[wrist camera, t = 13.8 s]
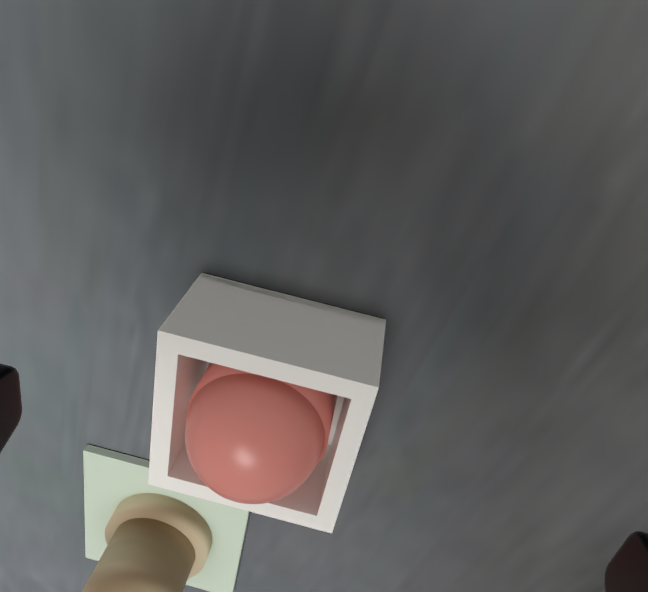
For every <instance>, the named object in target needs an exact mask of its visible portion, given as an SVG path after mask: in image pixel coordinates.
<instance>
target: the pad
mask: <svg viewBox="0 0 648 592" xmlns="http://www.w3.org/2000/svg"><path fill="white" fill-rule="evenodd" d="M83 454H84V501H85V549H86V558H90V559H93V560H97V561H99V560H100V558H101V556H102V554H103V552H104V551H105V549H106V547H107V543H106V539H105V528H106V525H107V523H108V522H109V520H110V518H111V517H112V515H113V513H114V511H115V510H116V508H117V506H118V505H119V503H120V502H121V501H123V500H124V499H125V498H127V497H129V496H132V495H135V494H141V493H155V494H161V495H166V496H169V497H172V498H175V499H177V500H180V501H182V502H184V503H185V504H187V505H189V506H190V507H192V508H193V509H194V510H196V511H197V512H198V513H199V514H200V515H201V516H202V517H203V518H204V519H205V521H206V522H207V524H208V525H209V527H210V530H211V533H212V546H211V549H210V551H209V554H208V557H207V559H206V562H205V565H204V567H203V569H202V570H201V571H200V572H199V573H198V574H197V575H195V576H193V577H191V578H189V579H187V582H186V584H185V585H189V586H192V587H196V588H200V589H203V590H207V591H211V592H233V591H234V587H235V582H236V577H237V572H238V567H239V562H240V557H241V552H242V548H243V543H244V538H245V533H246V528H247V523H248V518H249V513H250V511H246V510H242V509H239V508H235V507H231V506H227V505H224V504H220V503H216V502H213V501H209V500H205V499H201V498H198V497H194V496H190V495H186V494H183V493H179V492H175V491H171V490H168V489H164V488H160V487H156V486H153V485H149V484H148V479H149V463H150V461H149V460H145V459H141V458H137V457H134V456H130V455H126V454H122V453H119V452H115V451H111V450H107V449H104V448H100V447H96V446H92V445H89V444H88V445H87V446H86V448H85V449H84V450H83Z"/></svg>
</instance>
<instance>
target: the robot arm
mask: <svg viewBox="0 0 648 592" xmlns="http://www.w3.org/2000/svg"><path fill="white" fill-rule="evenodd" d="M21 414H22V403H21V392H20V382H19V374H18V372H17V370H16V369H15V368H13V367H11V366H8V365H4V364H0V453H1V451H2V449H3V448H4V446H5V445H6V443H7V441H8V440H9V438H10V437H11V435H12V433H13V432H14V430H15V429H16V427H17V425H18V423H19V421H20V418H21ZM605 591H606V592H648V533H645V532H641V531H636V532H634V533H632V534H631V535H630V536H629V537H628V538H627V539H626V541H625V542H624V544H623V545H622V546H621V548H620V549H619V550H618V552H617V553H616V554H615V556H614V557H613V558H612V560H611V561H610V562H609V564H608V566H607V569H606V572H605Z"/></svg>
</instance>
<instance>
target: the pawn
mask: <svg viewBox="0 0 648 592" xmlns="http://www.w3.org/2000/svg"><path fill="white" fill-rule="evenodd" d="M105 539H106V543H107V547H106V549H105V551H104V552H103V554H102V556H101V558H100V560H99V561H98V563H97V565H96V567H95V569H94V570H93V572H92V574H91V576H90V578H89V579H88V581H87V583H86V585H85V587H84V588H83V590H82V592H183V589H184V587H185V584H186V582H187V579H189V578H191V577H193V576H195V575H197V574H198V573H199V572H200V571H201V570H202V569H203V567H204V565H205V562H206V559H207V557H208V554H209V551H210V549H211V546H212V533H211V530H210V527H209V525H208V524H207V522H206V521H205V519H204V518H203V517H202V516H201V515H200V514H199V513H198V512H197V511H196V510H194V509H193V508H192V507H190V506H189V505H187V504H185V503H184V502H182V501H180V500H177V499H175V498H172V497H169V496H166V495H161V494H155V493H141V494H135V495H132V496H129V497H127V498H125V499H124V500H123V501H121V502H120V503H119V505H118V506H117V508H116V510H115V511H114V513H113V515H112V517H111V518H110V520H109V522H108V523H107V525H106V528H105Z"/></svg>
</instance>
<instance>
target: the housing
mask: <svg viewBox="0 0 648 592" xmlns="http://www.w3.org/2000/svg"><path fill="white" fill-rule="evenodd" d="M385 327H386V319H382V318H378V317H374V316H370V315H366V314H362V313H358V312H354V311H350V310H346V309H343V308H339V307H335V306H331V305H327V304H323V303H319V302H315V301H311V300H307V299H303V298H299V297H295V296H291V295H287V294H284V293H280V292H276V291H272V290H268V289H264V288H260V287H256V286H252V285H248V284H244V283H240V282H236V281H232V280H228V279H225V278H221V277H217V276H213V275H209V274H205V273H201V274H200V275H199V277H198V278H197V279H196V281H195V282H194V283H193V285H192V286H191V287H190V288H189V290H188V291H187V292H186V294H185V295H184V296H183V298H182V299H181V300H180V302H179V303H178V304H177V306H176V307H175V308H174V310H173V311H172V312H171V314H170V315H169V316H168V318H167V319H166V320H165V322H164V323H163V324H162V325H161V327H160V328H159V329H158V334H157V350H156V366H155V382H154V398H153V414H152V431H151V447H150V463H149V479H148V484H149V485H153V486H156V487H160V488H164V489H168V490H171V491H175V492H179V493H183V494H186V495H190V496H194V497H198V498H201V499H205V500H209V501H213V502H216V503H220V504H224V505H227V506H231V507H235V508H239V509H242V510H246V511H250V512H254V513H257V514H261V515H265V516H269V517H272V518H276V519H280V520H284V521H287V522H291V523H295V524H299V525H302V526H306V527H310V528H313V529H317V530H321V531H325V532H328V533H332V531H333V528H334V525H335V522H336V519H337V516H338V513H339V510H340V507H341V503H342V500H343V497H344V494H345V491H346V488H347V485H348V482H349V479H350V476H351V472H352V469H353V466H354V463H355V460H356V457H357V454H358V451H359V448H360V445H361V442H362V438H363V435H364V432H365V429H366V426H367V423H368V420H369V417H370V414H371V411H372V407H373V404H374V401H375V398H376V395H377V392H378V389H379V382H380V373H381V364H382V354H383V345H384V336H385ZM210 363H214V364H218V365H222V366H226V367H230V368H234V369H237V370H241V371H245V372H249V373H253V374H257V375H261V376H264V377H268V378H272V379H276V380H280V381H284V382H288V383H291V384H295V385H299V386H303V387H307V388H311V389H315V390H318V391H322V392H326V393H330V394H334V395H337V400H336V405H335V410H334V415H333V419H332V424H331V429H330V434H329V439H328V444H327V449H326V451H325V454H324V456H323V458H322V459H321V461H320V462H319V463H318V465H317V466H316V468H315V469H314V471H313V473H312V474H311V475H310V477H309V478H308V479H307V480H306V481H305V482H304V483H303V484H302V485H301V486H300V487H299V488H298V489H296V490H295V491H294V492H292V493H290V494H289V495H287V496H285V497H283V498H281V499H279V500H276V501H272V502H269V503H264V504H243V503H237V502H234V501H230V500H228V499H225V498H223V497H221V496H219V495H218V494H216V493H215V492H213V491H212V490H211V489H210V488H208V487H207V486H206V485H205V484H204V483H203V482H202V481H201V479H200V478H199V477H198V475H197V474H196V472H195V471H194V469H193V467H192V465H191V463H190V461H189V458H188V455H187V452H186V445H185V422H186V411H187V406H188V403H189V400H190V398H191V396H192V394H193V393H194V391H195V389H196V387H197V385H198V384H199V382H200V380H201V378H202V376H203V375H204V373H205V371H206V369H207V367H208V366H209V364H210Z"/></svg>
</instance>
